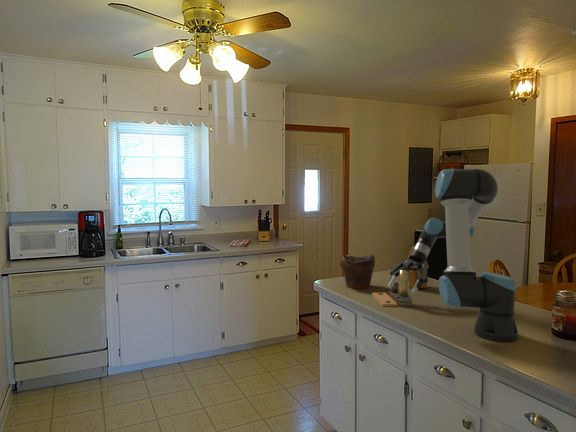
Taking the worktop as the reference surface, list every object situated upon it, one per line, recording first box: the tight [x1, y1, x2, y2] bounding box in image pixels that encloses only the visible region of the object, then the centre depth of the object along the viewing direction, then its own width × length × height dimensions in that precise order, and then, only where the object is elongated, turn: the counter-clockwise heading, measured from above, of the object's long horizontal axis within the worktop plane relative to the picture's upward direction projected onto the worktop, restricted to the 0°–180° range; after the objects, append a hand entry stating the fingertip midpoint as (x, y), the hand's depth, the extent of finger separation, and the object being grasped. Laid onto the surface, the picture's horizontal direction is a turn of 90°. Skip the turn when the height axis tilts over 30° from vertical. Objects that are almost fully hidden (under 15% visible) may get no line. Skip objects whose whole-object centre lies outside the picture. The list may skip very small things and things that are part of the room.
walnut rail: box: [385, 281, 413, 307], centre depth 208 cm, size 20×8×7 cm, turn 2°
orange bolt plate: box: [371, 292, 398, 307], centre depth 208 cm, size 20×7×1 cm, turn 2°
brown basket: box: [339, 254, 376, 290], centre depth 235 cm, size 18×20×18 cm
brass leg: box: [394, 270, 412, 302], centre depth 201 cm, size 6×7×14 cm
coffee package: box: [406, 245, 429, 290], centre depth 234 cm, size 10×12×22 cm
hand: (401, 290), depth 199 cm, fingers open, 12 cm apart
